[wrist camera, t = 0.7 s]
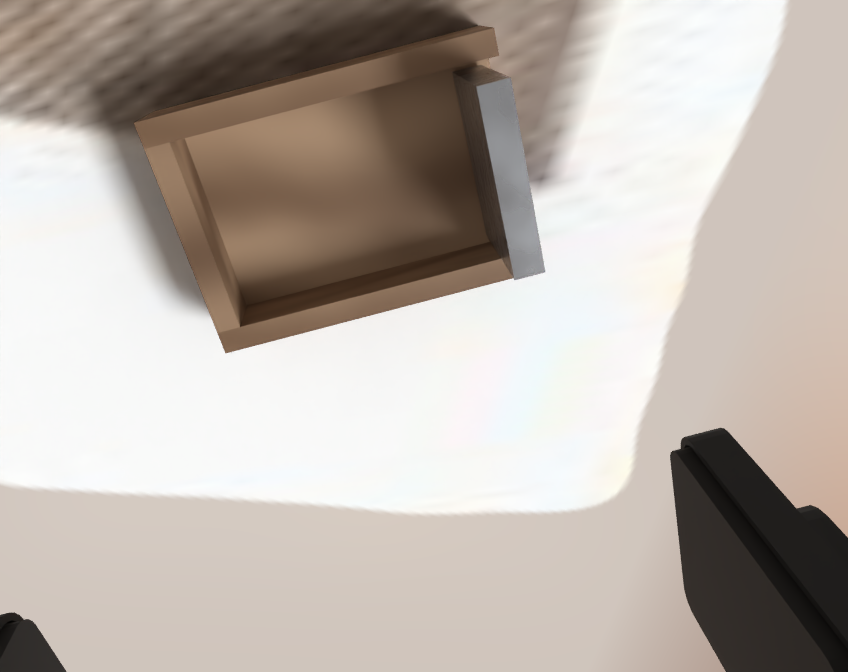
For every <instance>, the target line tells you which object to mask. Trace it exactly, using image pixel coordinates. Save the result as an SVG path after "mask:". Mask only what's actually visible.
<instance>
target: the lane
mask: <svg viewBox="0 0 848 672" xmlns="http://www.w3.org/2000/svg"><path fill="white" fill-rule="evenodd" d="M495 56H499V53H498V47H497V42H496V36H495V31H494V28H492V27H485V26H476V27H472V28H468V29H464V30H460V31H457V32H453V33H449V34H445V35H441V36H438V37H434V38H430V39H426V40H423V41H419V42H415V43H411V44H407V45H404V46H400V47H396V48H392V49H388V50H385V51H381V52H377V53H373V54H370V55H366V56H362V57H358V58H354V59H351V60H347V61H343V62H339V63H335V64H332V65H328V66H324V67H320V68H316V69H313V70H309V71H305V72H301V73H298V74H294V75H290V76H286V77H282V78H279V79H275V80H271V81H267V82H263V83H260V84H256V85H252V86H248V87H244V88H241V89H237V90H233V91H229V92H226V93H222V94H218V95H214V96H210V97H207V98H203V99H199V100H195V101H191V102H188V103H184V104H180V105H176V106H173V107H169V108H165V109H161V110H157V111H154V112H152V113H150V114H149V115H147V116H145V117H143V118H142V119H140V120H138V121H136V122H134V125H135V127H136V130H137V132H138V135H139V137H140V140H141V142H142V145H143V147H144V150H145V152H146V155H147V158H148V160H149V163H150V165H151V168H152V170H153V173H154V175H155V178H156V180H157V183H158V185H159V188H160V190H161V193H162V195H163V198H164V200H165V203H166V205H167V208H168V210H169V213H170V215H171V218H172V220H173V223H174V225H175V228H176V230H177V233H178V235H179V238H180V240H181V243H182V245H183V248H184V250H185V253H186V255H187V258H188V260H189V263H190V265H191V268H192V270H193V273H194V275H195V278H196V280H197V283H198V285H199V288H200V290H201V293H202V295H203V298H204V300H205V303H206V305H207V308H208V310H209V313H210V315H211V318H212V320H213V323H214V325H215V328H216V330H217V333H218V335H219V338H220V340H221V343H222V345H223V348H224V350H225V353H229V352H232V351H236V350H240V349H244V348H248V347H252V346H255V345H259V344H263V343H267V342H271V341H275V340H278V339H282V338H286V337H290V336H294V335H297V334H301V333H305V332H309V331H313V330H317V329H320V328H324V327H328V326H332V325H336V324H339V323H343V322H347V321H351V320H355V319H359V318H362V317H366V316H370V315H374V314H378V313H381V312H385V311H389V310H393V309H397V308H401V307H404V306H408V305H412V304H416V303H420V302H424V301H427V300H431V299H435V298H439V297H443V296H446V295H450V294H454V293H458V292H462V291H466V290H469V289H473V288H477V287H481V286H485V285H488V284H492V283H496V282H500V281H504V280H508V279H511V278H513V277H512V275H511V274H510V272H509V270H508V269H507V267H506V266H505V264H504V262H503V261H502V259H501V258H500V256H499V254H498V253H497V251H496V250H495V248H494V246H493V245H492V243H491V242H490V240H489V238H488V237H487V235H486V231H485V226H484V221H483V216H482V212H481V207H480V202H479V197H478V193H477V188H476V183H475V178H474V174H473V169H472V164H471V159H470V154H469V150H468V145H467V140H466V135H465V131H464V126H463V121H462V116H461V112H460V107H459V102H458V97H457V92H456V88H455V83H454V78H453V73H452V72H454V71H458V70H461V69H465V68H469V67H473V66H477V65H483V66H485V67H487V68H490V64H489V59H488V58H491V57H495Z"/></svg>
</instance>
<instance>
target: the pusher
mask: <svg viewBox="0 0 848 672" xmlns="http://www.w3.org/2000/svg"><path fill="white" fill-rule="evenodd" d="M452 73H453V78H454V83H455V88H456V92H457V97H458V102H459V107H460V112H461V116H462V121H463V126H464V131H465V135H466V140H467V145H468V150H469V154H470V159H471V164H472V169H473V174H474V178H475V183H476V188H477V193H478V197H479V202H480V207H481V212H482V216H483V221H484V226H485V231H486V235H487V237H488V238H489V240H490V242H491V243H492V245H493V246H494V248H495V250H496V251H497V253H498V254H499V256H500V258H501V259H502V261H503V262H504V264H505V266H506V267H507V269H508V270H509V272H510V274H511V275H512V277H513V278H514V280H517V279H521V278H525V277H529V276H532V275H536V274H540V273H544V272H545V268H544V262H543V257H542V251H541V245H540V240H539V234H538V229H537V223H536V217H535V212H534V206H533V200H532V195H531V189H530V183H529V178H528V172H527V167H526V161H525V155H524V150H523V144H522V138H521V133H520V127H519V122H518V116H517V110H516V105H515V99H514V93H513V88H512V82H511V77H508V76H506V75H504V74H501V73H499V72H497V71H494V70H492V69H490V68H487V67H485V66H483V65H477V66H473V67H469V68H465V69H461V70H458V71H454V72H452Z"/></svg>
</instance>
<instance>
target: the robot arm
mask: <svg viewBox="0 0 848 672" xmlns="http://www.w3.org/2000/svg"><path fill="white" fill-rule="evenodd" d="M670 460H671V470H672V478H673V488H674V496H675V507H676V517H677V526H678V535H679V544H680V554H681V564H682V573H683V582H684V590H685V594H686V597H687V601H688V603H689V606H690V608H691V611H692V613H693V614H694V616H695V618H696V620H697V622H698V623H699V625H700V627H701V629H702V630H703V632H704V634H705V636H706V637H707V639H708V641H709V643H710V644H711V646H712V648H713V650H714V651H715V653H716V655H717V657H718V659H719V660H720V662H721V664H722V666H723V667H724V669H725V671H726V672H848V538H847V536H845V534H844V533H843V532H842V531H841V530H840V529H839V528H838V527H837V526H836V525H835V524H834V523H833V521H832V520H831V519H830V518H829V517H828V516H827V515H826V514H825V513H823V512H822V511H821V510H820V509H819V508H816V507H814V506H811V505H809V506H805V507H801V508H797V509H796V508H795V507H794V505H793V504H792V503H791V502H790V501H789V500H788V499H787V497H786V496H784V494H783V493H782V492H781V491H780V490H779V489H778V487H777V486H776V485H775V484H774V483H773V482H772V481H771V480H770V479H769V477H768V476H767V475H766V474H765V473H764V472H763V470H762V469H761V468H760V467H759V466H758V465H757V464H756V463H755V461H754V460H753V459H752V458H751V457H750V456H749V455H748V454H747V452H746V451H745V450H744V449H743V448H742V447H741V446H740V445H739V444H738V442H737V441H736V440H735V439H734V438H733V437H732V436H731V435H730V433H729V432H728V431H726V430H725V429H723V428H718V429H714V430H710V431H706V432H703V433H699V434H695V435H691V436H687V437H684V438H683V439H682V440H681V449H679V450H675V451H672V452H671V455H670ZM0 672H66V670H65V669H64V667H63V666H62V664H61V663H60V661H59V660H58V658H57V657H56V655H55V653H54V652H53V651H52V649H51V647H50V646H49V644H48V643H47V641H46V640H45V638H44V637H43V635H42V634H41V632H40V631H39V629H38V628H37V626H36V625H35V624H34V622H33V621H31V620H29V619H26V620H23V618H22V617H21V616H20V615H18V614H16V613H6V614H2V615H0Z"/></svg>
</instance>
